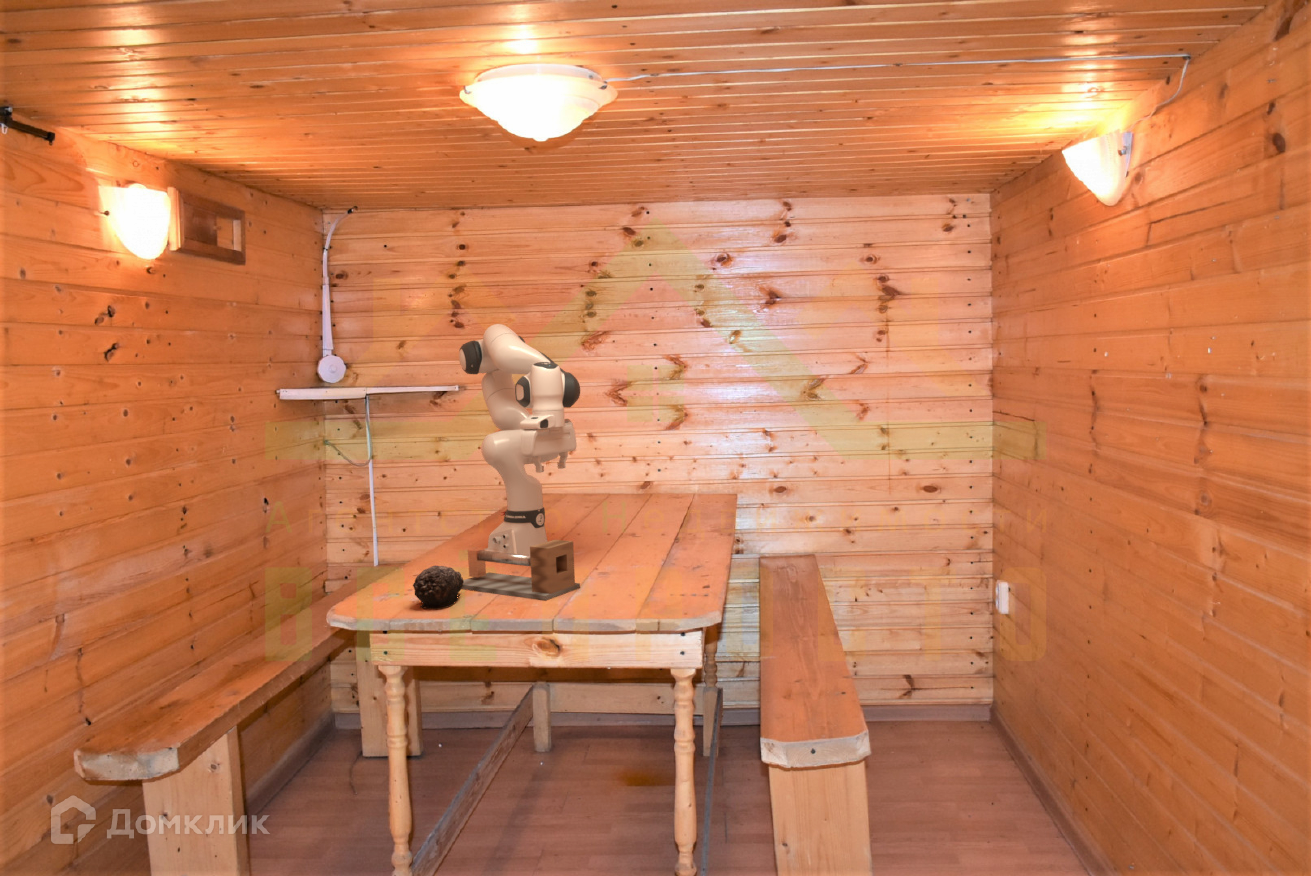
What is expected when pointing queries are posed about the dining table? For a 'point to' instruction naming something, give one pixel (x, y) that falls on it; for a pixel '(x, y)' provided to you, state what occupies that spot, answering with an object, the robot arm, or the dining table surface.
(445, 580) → the pine cone
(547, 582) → the eye post
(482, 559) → the hook rod
